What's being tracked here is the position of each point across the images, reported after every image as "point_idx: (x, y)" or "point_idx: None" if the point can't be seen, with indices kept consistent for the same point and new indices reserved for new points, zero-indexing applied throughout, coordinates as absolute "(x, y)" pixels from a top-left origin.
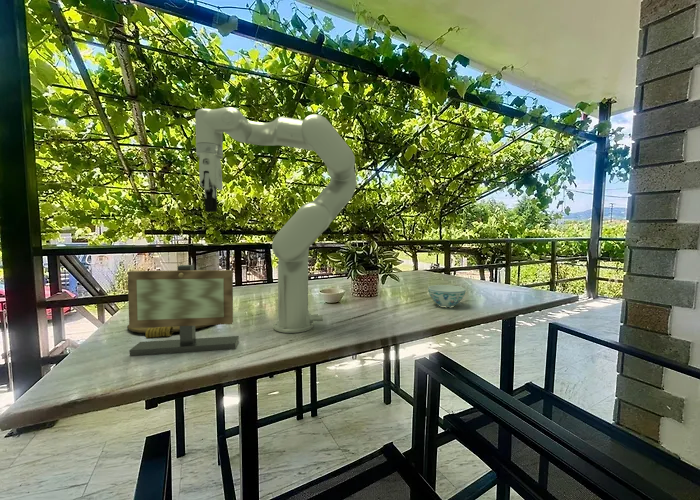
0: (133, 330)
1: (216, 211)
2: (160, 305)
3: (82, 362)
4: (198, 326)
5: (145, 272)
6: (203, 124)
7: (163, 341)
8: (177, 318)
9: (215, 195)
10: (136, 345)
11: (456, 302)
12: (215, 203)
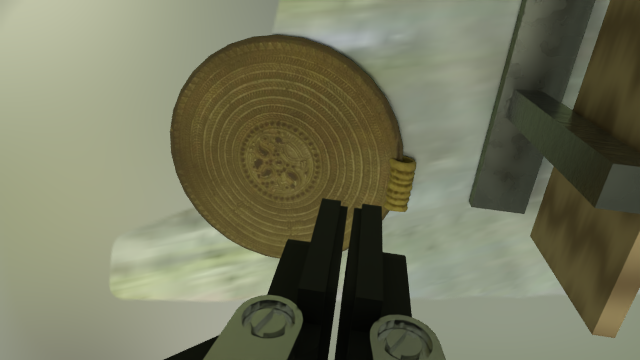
0: None
1: (336, 200)
2: None
3: (515, 272)
4: (383, 98)
5: (632, 293)
6: None
7: (491, 160)
8: None
9: (291, 352)
10: (495, 208)
11: None
12: (381, 259)
